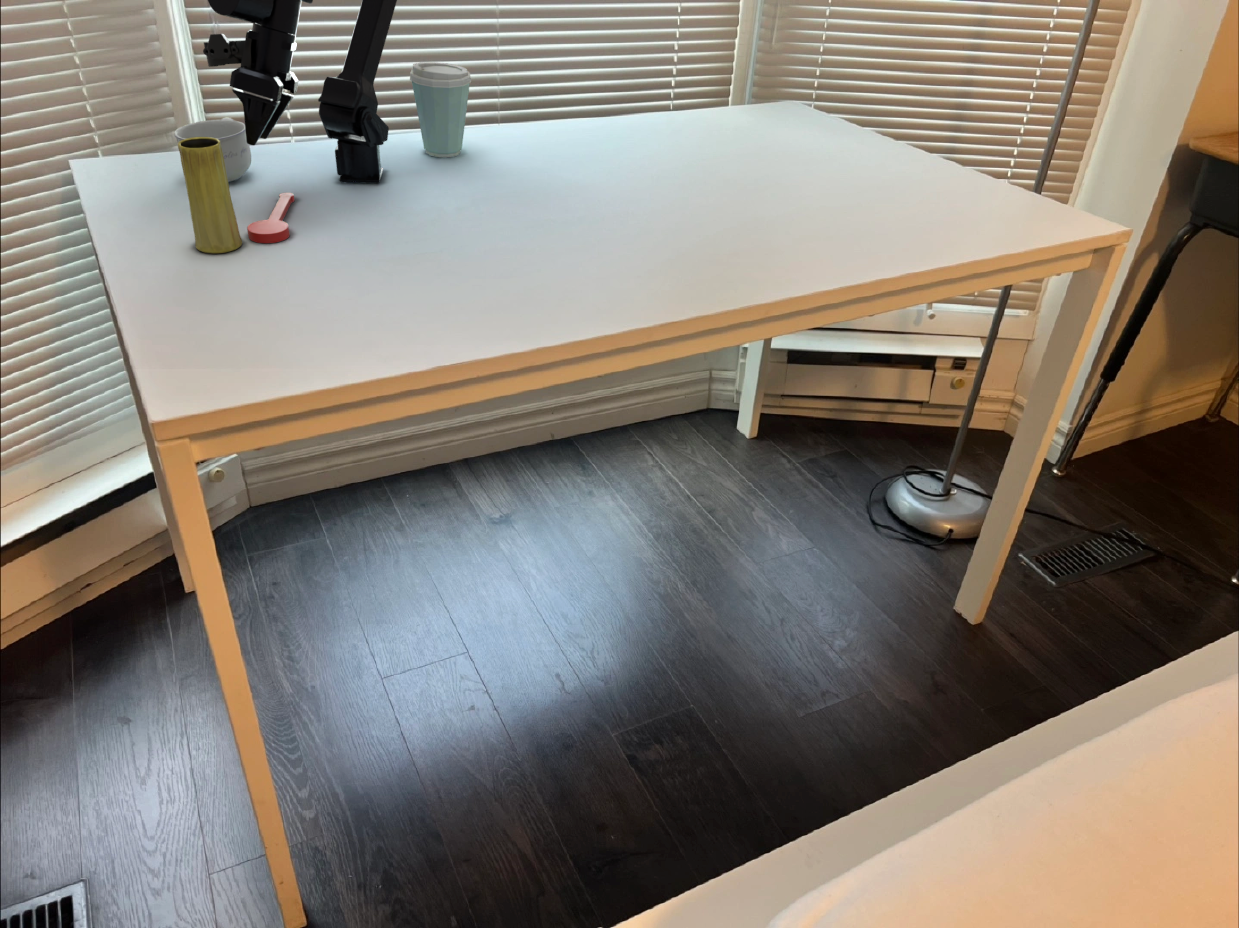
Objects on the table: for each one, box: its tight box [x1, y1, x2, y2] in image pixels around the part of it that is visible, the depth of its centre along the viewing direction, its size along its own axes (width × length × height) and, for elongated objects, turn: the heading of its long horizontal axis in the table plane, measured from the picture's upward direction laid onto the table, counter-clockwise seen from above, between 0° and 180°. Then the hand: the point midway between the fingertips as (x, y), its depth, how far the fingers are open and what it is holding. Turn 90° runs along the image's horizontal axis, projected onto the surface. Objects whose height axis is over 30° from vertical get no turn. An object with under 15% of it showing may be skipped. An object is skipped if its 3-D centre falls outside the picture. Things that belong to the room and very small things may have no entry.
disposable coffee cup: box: [409, 61, 472, 158], centre depth 168 cm, size 11×11×15 cm
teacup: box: [173, 117, 252, 183], centre depth 154 cm, size 14×11×8 cm
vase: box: [177, 137, 243, 255], centre depth 129 cm, size 6×6×14 cm
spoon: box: [246, 191, 296, 244], centre depth 142 cm, size 6×18×1 cm, turn 6°
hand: (256, 141), depth 139 cm, fingers open, 9 cm apart
